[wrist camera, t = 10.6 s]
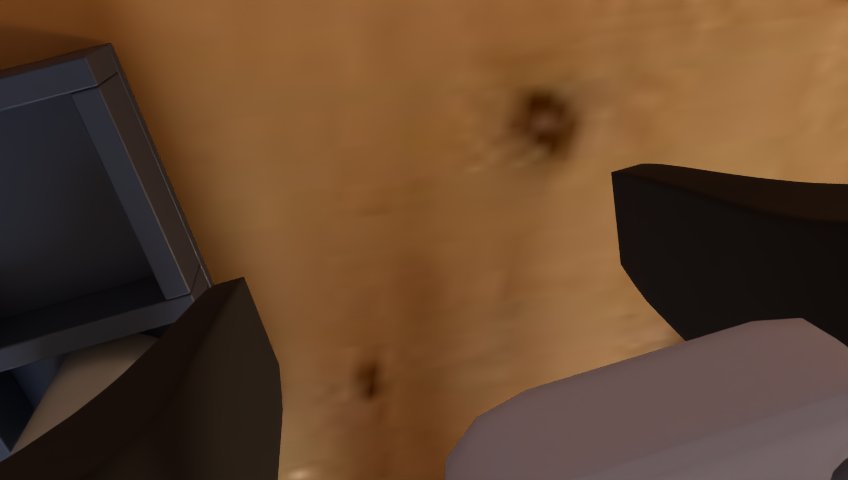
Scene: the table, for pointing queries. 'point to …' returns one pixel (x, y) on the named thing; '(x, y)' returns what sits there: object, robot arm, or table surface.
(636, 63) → the table surface
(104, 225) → the cup holder
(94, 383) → the cream cup
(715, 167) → the table surface
